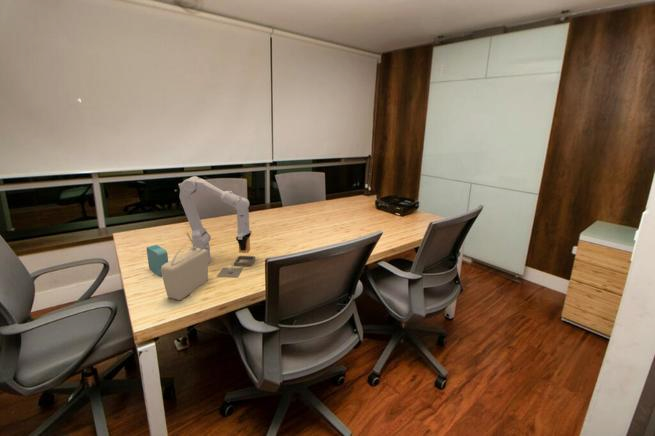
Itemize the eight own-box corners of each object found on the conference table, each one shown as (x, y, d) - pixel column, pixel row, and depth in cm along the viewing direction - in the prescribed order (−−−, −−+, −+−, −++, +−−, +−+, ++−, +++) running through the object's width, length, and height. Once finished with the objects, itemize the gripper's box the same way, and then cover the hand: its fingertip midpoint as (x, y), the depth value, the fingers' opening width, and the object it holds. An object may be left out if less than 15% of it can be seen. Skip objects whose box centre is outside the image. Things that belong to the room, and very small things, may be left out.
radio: (196, 277, 151) (191, 226, 144) (211, 280, 149) (207, 228, 142) (160, 300, 131) (152, 242, 124) (177, 304, 128) (170, 245, 121)
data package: (170, 274, 153) (167, 250, 150) (160, 277, 150) (157, 253, 146) (158, 266, 160) (155, 243, 157) (149, 269, 157) (145, 246, 153)
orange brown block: (248, 253, 162) (247, 240, 160) (239, 252, 162) (238, 239, 160) (250, 249, 167) (249, 237, 165) (241, 249, 167) (240, 236, 165)
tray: (234, 267, 162) (233, 262, 161) (238, 260, 171) (238, 255, 170) (251, 267, 162) (251, 263, 162) (255, 260, 171) (255, 256, 170)
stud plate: (216, 278, 150) (215, 269, 149) (223, 269, 160) (222, 261, 158) (237, 279, 150) (237, 270, 149) (243, 269, 160) (243, 261, 158)
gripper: (247, 227, 153) (248, 253, 157) (254, 218, 167) (255, 243, 171) (232, 226, 153) (234, 253, 157) (241, 218, 167) (242, 242, 171)
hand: (244, 248), depth 164 cm, fingers closed on orange brown block, 4 cm apart
